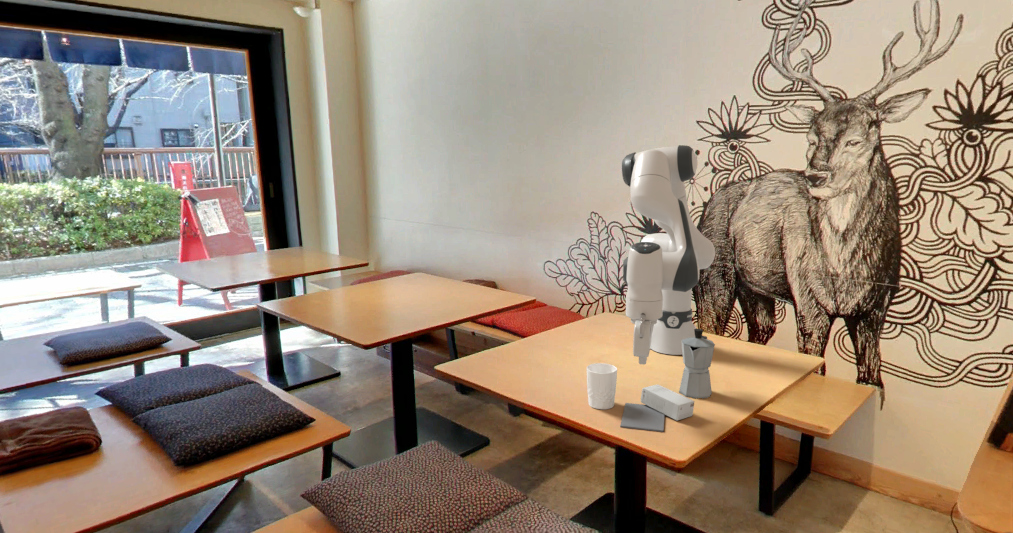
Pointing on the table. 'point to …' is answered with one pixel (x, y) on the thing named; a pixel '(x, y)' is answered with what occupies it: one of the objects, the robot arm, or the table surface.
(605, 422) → the table surface
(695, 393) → the coffee maker
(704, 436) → the table surface
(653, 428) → the mat
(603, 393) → the white cup
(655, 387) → the skincare box
